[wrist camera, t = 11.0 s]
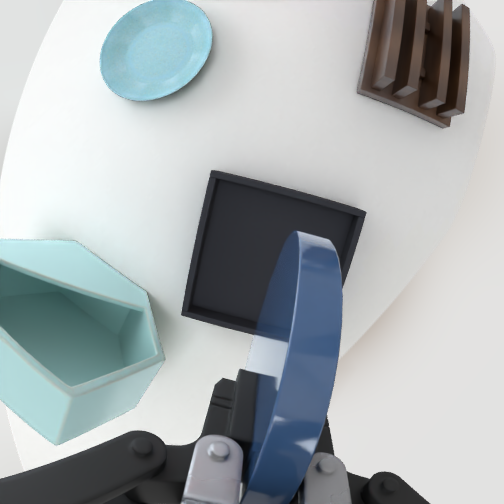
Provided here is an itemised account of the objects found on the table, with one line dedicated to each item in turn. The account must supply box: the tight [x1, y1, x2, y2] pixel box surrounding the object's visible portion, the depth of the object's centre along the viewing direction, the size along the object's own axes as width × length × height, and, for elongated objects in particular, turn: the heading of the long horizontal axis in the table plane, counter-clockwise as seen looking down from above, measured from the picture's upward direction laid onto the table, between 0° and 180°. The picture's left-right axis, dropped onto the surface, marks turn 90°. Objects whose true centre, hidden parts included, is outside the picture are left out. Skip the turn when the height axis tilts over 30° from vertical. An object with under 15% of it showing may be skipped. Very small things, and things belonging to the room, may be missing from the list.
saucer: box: [100, 0, 213, 101], centre depth 25 cm, size 12×12×2 cm
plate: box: [239, 230, 343, 504], centre depth 12 cm, size 12×1×12 cm, turn 166°
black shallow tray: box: [181, 170, 366, 335], centre depth 29 cm, size 14×14×3 cm
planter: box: [0, 239, 165, 446], centre depth 24 cm, size 17×8×21 cm
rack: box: [357, 0, 470, 128], centre depth 22 cm, size 14×10×6 cm
